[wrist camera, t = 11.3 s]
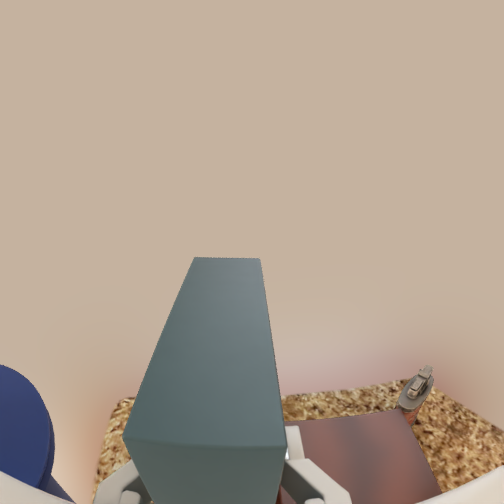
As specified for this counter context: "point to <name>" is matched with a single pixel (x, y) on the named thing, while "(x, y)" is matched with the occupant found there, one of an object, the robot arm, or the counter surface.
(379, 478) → the cabinet
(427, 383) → the lighter
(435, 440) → the counter surface
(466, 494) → the robot arm
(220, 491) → the dark teal rectangular block
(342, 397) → the counter surface
